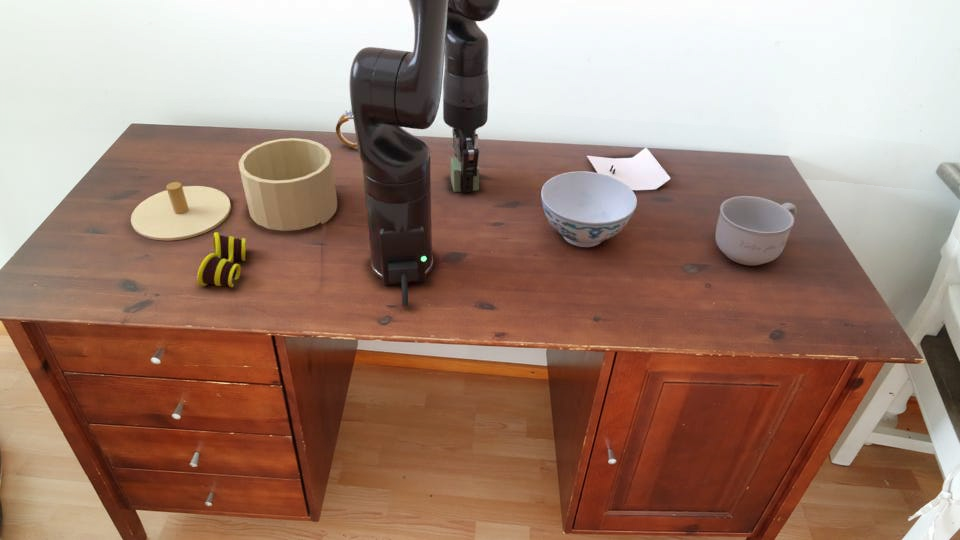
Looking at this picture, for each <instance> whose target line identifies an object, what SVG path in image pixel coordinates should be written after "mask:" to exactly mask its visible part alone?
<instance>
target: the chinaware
mask: <svg viewBox="0 0 960 540" xmlns="http://www.w3.org/2000/svg"><path fill="white" fill-rule="evenodd" d="M540 197H541V205H542V208H543V212H544V214H545V217H546V219H547V221H548V223H549V224H550V225H551V227H552V228H553V229H554V230H555V231H556V232H557V233H558V234H560V235H561V236H562V237H563V239H564V240H565V241H566V242H568V243H569V244H571V245H573V246H575V247H580V248H591V247H595V246H598V245H599V244H601V243H602V242H604V241H607V240H609V239H611V238H613V237H615V236H616V235H617V234H619V233H620V232H621V231H622V230H623V229H624V228H625V227H626V226H627V225H628V223H629V221H630V220H631V219H632V217H633V215H634V213H635V210H636V208H637V205H638V200H637V196H636V193H635V192H634V190H631V188H630V187H628V186H627V185H626V184H625V183H623V182H621V181H620V180H618V179H616V178H613V177H611V176H608V175H604V174H600V173H597V172H594V171H582V170H579V171H577V170H576V171H569V172H564V173H563V172H562V173H560V174H556V175H554V176H552V177H550V179H548V180H546V182H545V183H544V184H543V185H542V187H541V192H540Z"/></svg>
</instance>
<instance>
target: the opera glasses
mask: <svg viewBox="0 0 960 540" xmlns="http://www.w3.org/2000/svg"><path fill="white" fill-rule="evenodd" d="M212 243H213V244H212V245H213V252H211V253H209V254H207V256H205V258H204V259H203V260H202V262H201V263H200V265H199V268H198V270H197V276H196V279H197V283H198V284H199V285H200V286H202V287H206V286H208V285H215V286H216V287H222V286H224V287H227V286H228V287H230V288H234V286H235V285H234V284H235V283H233V279H234V281H235V280H238V279H239V278H240V276H241V272H242V267H241V265H240V264H239V263H234V262H235V261H236V262H239V261H242V262H246V251H247V250H246V249H247V238H244V237H242V238H241V239H240V238H239V237H238V238H236V237H235V236H232V235H229V236H227V235H222V234H220V233H219V232H218V231H215V232H214V233H213V237H212Z"/></svg>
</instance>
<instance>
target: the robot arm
mask: <svg viewBox="0 0 960 540" xmlns="http://www.w3.org/2000/svg"><path fill="white" fill-rule="evenodd" d="M408 3H409V6H410V10H411V13H412V18H413V27H414V28H413V29H414V40H413V41H414V42H413V50H412V51H407V50H400V49H392V48H385V47H376V46H375V47H373V46H367V47H363V48H361V49H360V50H359V51H358V52H357V53H356V55H355V56H354V58H353V60H352V64H351V67H350V71H349V100H350V109H351V108H352V114H353V119H352V120H353V126H354V130H355V131H354V132H355V138H356V142H357V146H358V149H357V152H358V156H359V159H360V161H361V163H362V174H363V187H364V197H365V209H366V218H367V229H368V238H369V247H370V259H371V260H370V265H371V271H372V273H373V275H375V277H376V278H378V279H379V280H381V281H382V282H383V285H384V286H395V285H396V286H397V285H401V286H400V287H401V306H402V307H409V289H408V284H419V283H425V282H426V280H427V279H426V277H427V276H428V275H430V273H431V271H432V270H433V269H434V268H433V267H434V256H433V230H432V191H431V190H432V188H431V186H432V185H431V184H432V183H431V179H432V178H431V152H430V149H429V146H428V145H427V143H425V142H424V140H423V139H421V138H420V137H417V136H416V135H414V134H412V133H411V132H409V131H407V129H412V130H426V129H428V128H430V127H431V126H432V125H433V123H434V122H435V120H436V117H437V115H438V113H439V112H438V111H439V107H440V104H441V103H440V102H441V97H442V112H443V113H442V118H443V122H444V123H445V125H447V126H448V127H450V128H452V131H451V133H452V147H453V149H454V153H453V154H454V157H457V160H458V161H459V162H460V189H461V193H472V192H474V191H473V176H477V166H478V167H479V155H480V150H479V148H478V145H479V133H477V131H476V130H478V129H480V128H482V127H484V126H485V125H486V123H487V122H488V119H489V118H488V117H489V116H488V115H489V114H488V113H489V90H490V79H489V38H488V36H487V34H486V33H485V32H484V31H483V30H482V29H481V28H480V27H479V25H478V23H477V22H484V21H486V20H488V19H490V18H491V17H492V16H493V15H494V14H495V12H496V11H497V10H498V7H499V4H500V0H408ZM404 128H405V129H404Z"/></svg>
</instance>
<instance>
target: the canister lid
mask: <svg viewBox="0 0 960 540" xmlns="http://www.w3.org/2000/svg"><path fill="white" fill-rule="evenodd" d="M165 188H166V190H163V191H159V192H158V193H155V194H153V195H151V196H149V197H147V198H146V199H144V200H143V201H141V202H140V203H139V204H138V205H137V206H136V207H135V208H134V210H133V211H132V213H131V215H130V224H131V227H132V228H133V230H134V231H135V232H136V233H137V234H138V235H139V236H141V237H144V238H147V239H150V240H153V241H154V240H155V241H163V242H164V241H166V242H167V241H168V242H169V241H171V242H172V241H181V240H186V239H190V238H195V237H197V236H201V235H203V234H206V233H207V232H209V231H212V230H214V229H215V228H217V227H219V225H221V224H222V223H223V222H224V221H225V220H226V219H227V218H228V217H229V215H230V212H231V208H232V205H231V201H230V199H229V196H228V195H226V194H225V192H223V191H222V190H219V189H217V188H214V187H210V186H203V185H202V186H201V185H186V186H185V185H184V186H182V183H181V182H179V181H172V182H169V183H168V184H166V185H165Z"/></svg>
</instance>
